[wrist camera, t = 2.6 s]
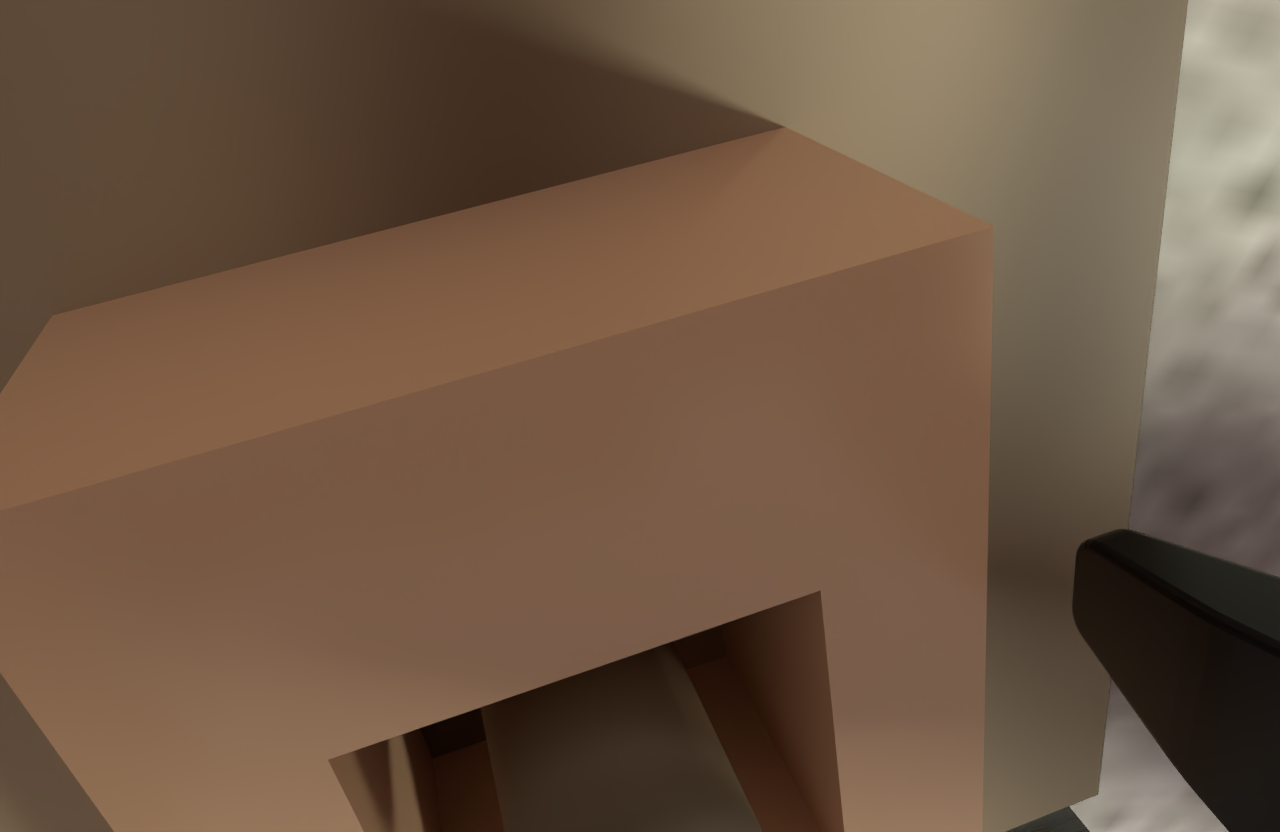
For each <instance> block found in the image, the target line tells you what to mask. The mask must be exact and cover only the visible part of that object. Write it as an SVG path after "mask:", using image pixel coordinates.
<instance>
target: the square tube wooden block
mask: <svg viewBox="0 0 1280 832" xmlns="http://www.w3.org/2000/svg"><path fill="white" fill-rule="evenodd" d="M993 247H994V226H992V225H990V224H988V223H986V222H984V221H982V220H980V219H977V218H975V217H973V216H971V215H969V214H967V213H965V212H963V211H961V210H959V209H956V208H954V207H952V206H950V205H948V204H946V203H944V202H942V201H940V200H938V199H936V198H933V197H931V196H929V195H927V194H925V193H923V192H921V191H919V190H917V189H915V188H912V187H910V186H908V185H906V184H904V183H902V182H900V181H898V180H896V179H894V178H892V177H889V176H887V175H885V174H883V173H881V172H879V171H877V170H875V169H873V168H871V167H868V166H866V165H864V164H862V163H860V162H858V161H856V160H854V159H852V158H850V157H847V156H845V155H843V154H841V153H839V152H837V151H835V150H833V149H831V148H829V147H827V146H824V145H822V144H820V143H818V142H816V141H814V140H812V139H810V138H808V137H806V136H803V135H801V134H799V133H797V132H795V131H793V130H791V129H789V128H787V127H783V128H779V129H775V130H771V131H767V132H764V133H760V134H756V135H752V136H748V137H744V138H740V139H736V140H732V141H729V142H725V143H721V144H717V145H713V146H709V147H705V148H701V149H697V150H694V151H690V152H686V153H682V154H678V155H674V156H670V157H666V158H662V159H659V160H655V161H651V162H647V163H643V164H639V165H635V166H631V167H627V168H624V169H620V170H616V171H612V172H608V173H604V174H600V175H596V176H593V177H589V178H585V179H581V180H577V181H573V182H569V183H565V184H561V185H558V186H554V187H550V188H546V189H542V190H538V191H534V192H530V193H526V194H523V195H519V196H515V197H511V198H507V199H503V200H499V201H495V202H491V203H488V204H484V205H480V206H476V207H472V208H468V209H464V210H460V211H457V212H453V213H449V214H445V215H441V216H437V217H433V218H429V219H425V220H422V221H418V222H414V223H410V224H406V225H402V226H398V227H394V228H390V229H387V230H383V231H379V232H375V233H371V234H367V235H363V236H359V237H355V238H352V239H348V240H344V241H340V242H336V243H332V244H328V245H324V246H320V247H317V248H313V249H309V250H305V251H301V252H297V253H293V254H289V255H286V256H282V257H278V258H274V259H270V260H266V261H262V262H258V263H254V264H251V265H247V266H243V267H239V268H235V269H231V270H227V271H223V272H219V273H216V274H212V275H208V276H204V277H200V278H196V279H192V280H188V281H184V282H181V283H177V284H173V285H169V286H165V287H161V288H157V289H153V290H149V291H146V292H142V293H138V294H134V295H130V296H126V297H122V298H118V299H115V300H111V301H107V302H103V303H99V304H95V305H91V306H87V307H83V308H80V309H76V310H72V311H68V312H64V313H60V314H56V315H52V317H51V318H50V320H49V321H48V323H47V324H46V326H45V327H44V329H43V330H42V332H41V333H40V335H39V336H38V338H37V339H36V341H35V342H34V344H33V345H32V347H31V348H30V350H29V351H28V353H27V354H26V356H25V357H24V359H23V360H22V362H21V363H20V365H19V366H18V368H17V369H16V371H15V372H14V374H13V375H12V377H11V378H10V380H9V381H8V383H7V384H6V386H5V387H4V389H3V390H2V392H1V393H0V673H1V675H2V676H3V677H4V679H5V680H6V682H7V683H8V684H9V686H10V687H11V689H12V690H13V691H14V693H15V694H16V696H17V697H18V698H19V700H20V701H21V703H22V704H23V705H24V707H25V708H26V710H27V711H28V712H29V714H30V715H31V717H32V718H33V719H34V721H35V722H36V723H37V725H38V726H39V728H40V729H41V730H42V732H43V733H44V735H45V736H46V737H47V739H48V740H49V742H50V743H51V744H52V746H53V747H54V749H55V750H56V751H57V753H58V754H59V756H60V757H61V758H62V760H63V761H64V763H65V764H66V765H67V767H68V768H69V770H70V771H71V772H72V774H73V775H74V776H75V778H76V779H77V781H78V782H79V783H80V785H81V786H82V788H83V789H84V790H85V792H86V793H87V795H88V796H89V797H90V799H91V800H92V802H93V803H94V804H95V806H96V807H97V809H98V810H99V811H100V813H101V814H102V816H103V817H104V818H105V820H106V821H107V823H108V824H109V825H110V827H111V828H112V830H113V831H114V832H504V827H503V822H502V817H501V812H500V806H499V801H498V796H497V791H496V786H495V781H494V776H493V770H492V765H491V760H490V755H489V750H488V745H487V740H485V741H482V742H479V743H476V744H473V745H470V746H467V747H465V748H462V749H459V750H456V751H453V752H450V753H447V754H445V755H442V756H439V757H436V758H432V756H431V753H430V751H429V749H428V746H427V744H426V742H425V739H424V737H423V734H422V732H421V730H420V728H422V727H425V726H428V725H431V724H434V723H436V722H439V721H442V720H445V719H448V718H451V717H454V716H457V715H460V714H463V713H466V712H468V711H471V710H474V709H477V708H480V707H483V706H486V705H489V704H492V703H495V702H498V701H500V700H503V699H506V698H509V697H512V696H515V695H518V694H521V693H524V692H527V691H530V690H532V689H535V688H538V687H541V686H544V685H547V684H550V683H553V682H556V681H559V680H562V679H564V678H567V677H570V676H573V675H576V674H579V673H582V672H585V671H588V670H591V669H594V668H596V667H599V666H602V665H605V664H608V663H611V662H614V661H617V660H620V659H623V658H626V657H628V656H631V655H634V654H637V653H640V652H643V651H646V650H649V649H652V648H655V647H658V646H660V645H663V644H666V643H669V642H672V641H675V640H678V639H681V638H684V637H687V636H690V635H692V634H695V633H698V632H701V631H704V630H707V629H710V628H713V627H716V626H719V625H721V628H722V633H723V639H724V645H725V651H726V656H725V657H722V658H719V659H716V660H713V661H710V662H708V663H705V664H702V665H699V666H696V667H693V668H690V669H688V670H686V671H687V673H688V675H689V678H690V680H691V682H692V684H693V686H694V688H695V690H696V692H697V694H698V697H699V699H700V701H701V703H702V705H703V707H704V709H705V711H706V713H707V716H708V718H709V720H710V722H711V724H712V726H713V728H714V730H715V732H716V735H717V737H718V739H719V741H720V743H721V745H722V747H723V749H724V751H725V754H726V756H727V758H728V760H729V762H730V764H731V766H732V768H733V770H734V773H735V775H736V777H737V779H738V781H739V783H740V785H741V787H742V789H743V792H744V794H745V796H746V798H747V800H748V802H749V804H750V806H751V808H752V811H753V813H754V815H755V817H756V819H757V821H758V823H759V825H760V827H761V830H762V832H982V827H983V774H984V722H985V669H986V616H987V563H988V510H989V458H990V405H991V352H992V299H993Z"/></svg>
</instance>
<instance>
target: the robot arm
mask: <svg viewBox="0 0 1280 832" xmlns="http://www.w3.org/2000/svg"><path fill="white" fill-rule="evenodd" d="M1072 613H1073V618H1074V621H1075V624H1076V627H1077V629H1078V631H1079V633H1080V634H1081V636H1082V637H1083V639H1084V640H1085V642H1086V643H1087V645H1088V646H1089V647H1090V649H1091V650H1092V652H1093V653H1094V654H1095V656H1096V657H1097V659H1098V660H1099V661H1100V663H1101V664H1102V666H1103V667H1104V668H1105V670H1106V671H1107V673H1108V674H1109V675H1110V677H1111V678H1112V680H1113V681H1114V682H1115V684H1116V685H1117V687H1118V688H1119V690H1120V691H1121V692H1122V694H1123V695H1124V697H1125V698H1126V699H1127V701H1128V702H1129V704H1130V705H1131V706H1132V708H1133V709H1134V711H1135V712H1136V713H1137V715H1138V716H1139V718H1140V719H1141V720H1142V722H1143V723H1144V725H1145V726H1146V727H1147V729H1148V730H1149V732H1150V733H1151V734H1152V736H1153V737H1154V739H1155V740H1156V742H1157V743H1158V744H1159V746H1160V747H1161V749H1162V750H1163V751H1164V753H1165V754H1166V755H1167V757H1168V758H1169V759H1170V761H1171V762H1172V763H1173V765H1174V766H1175V767H1176V769H1177V770H1178V771H1179V773H1180V774H1181V775H1182V777H1183V778H1184V779H1185V780H1186V782H1187V783H1188V784H1189V785H1190V786H1191V788H1192V789H1193V790H1194V791H1195V792H1196V794H1197V795H1198V796H1199V797H1200V798H1201V800H1202V801H1203V802H1204V803H1205V804H1206V805H1207V807H1208V808H1209V809H1210V810H1211V811H1212V812H1213V814H1214V815H1215V816H1216V817H1217V818H1218V819H1219V820H1220V822H1221V823H1222V824H1223V825H1224V826H1225V827H1226V828H1227V830H1228V831H1229V832H1280V577H1277V576H1274V575H1270V574H1267V573H1264V572H1261V571H1258V570H1255V569H1252V568H1249V567H1245V566H1242V565H1239V564H1236V563H1233V562H1230V561H1227V560H1224V559H1220V558H1217V557H1214V556H1211V555H1208V554H1205V553H1202V552H1199V551H1196V550H1192V549H1189V548H1186V547H1183V546H1180V545H1177V544H1174V543H1171V542H1167V541H1164V540H1161V539H1158V538H1155V537H1152V536H1149V535H1146V534H1142V533H1139V532H1136V531H1133V530H1129V529H1116V530H1113V531H1110V532H1107V533H1104V534H1101V535H1098V536H1096V537H1093V538H1090V539H1087V540H1085V541H1083V542H1082V543H1081V544H1080V546H1079V548H1078V549H1077V552H1076V560H1075V572H1074V585H1073V598H1072Z"/></svg>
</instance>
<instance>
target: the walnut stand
mask: <svg viewBox="0 0 1280 832" xmlns="http://www.w3.org/2000/svg"><path fill="white" fill-rule="evenodd" d="M1187 4H1188V0H0V393H1V392H2V390H3V389H4V387H5V386H6V384H7V383H8V381H9V380H10V378H11V377H12V375H13V374H14V372H15V371H16V369H17V368H18V366H19V365H20V363H21V362H22V360H23V359H24V357H25V356H26V354H27V353H28V351H29V350H30V348H31V347H32V345H33V344H34V342H35V341H36V339H37V338H38V336H39V335H40V333H41V332H42V330H43V329H44V327H45V326H46V324H47V323H48V321H49V320H50V318H51V317H52V315H56V314H60V313H64V312H68V311H72V310H76V309H80V308H83V307H87V306H91V305H95V304H99V303H103V302H107V301H111V300H115V299H118V298H122V297H126V296H130V295H134V294H138V293H142V292H146V291H149V290H153V289H157V288H161V287H165V286H169V285H173V284H177V283H181V282H184V281H188V280H192V279H196V278H200V277H204V276H208V275H212V274H216V273H219V272H223V271H227V270H231V269H235V268H239V267H243V266H247V265H251V264H254V263H258V262H262V261H266V260H270V259H274V258H278V257H282V256H286V255H289V254H293V253H297V252H301V251H305V250H309V249H313V248H317V247H320V246H324V245H328V244H332V243H336V242H340V241H344V240H348V239H352V238H355V237H359V236H363V235H367V234H371V233H375V232H379V231H383V230H387V229H390V228H394V227H398V226H402V225H406V224H410V223H414V222H418V221H422V220H425V219H429V218H433V217H437V216H441V215H445V214H449V213H453V212H457V211H460V210H464V209H468V208H472V207H476V206H480V205H484V204H488V203H491V202H495V201H499V200H503V199H507V198H511V197H515V196H519V195H523V194H526V193H530V192H534V191H538V190H542V189H546V188H550V187H554V186H558V185H561V184H565V183H569V182H573V181H577V180H581V179H585V178H589V177H593V176H596V175H600V174H604V173H608V172H612V171H616V170H620V169H624V168H627V167H631V166H635V165H639V164H643V163H647V162H651V161H655V160H659V159H662V158H666V157H670V156H674V155H678V154H682V153H686V152H690V151H694V150H697V149H701V148H705V147H709V146H713V145H717V144H721V143H725V142H729V141H732V140H736V139H740V138H744V137H748V136H752V135H756V134H760V133H764V132H767V131H771V130H775V129H779V128H783V127H787V128H789V129H791V130H793V131H795V132H797V133H799V134H801V135H803V136H806V137H808V138H810V139H812V140H814V141H816V142H818V143H820V144H822V145H824V146H827V147H829V148H831V149H833V150H835V151H837V152H839V153H841V154H843V155H845V156H847V157H850V158H852V159H854V160H856V161H858V162H860V163H862V164H864V165H866V166H868V167H871V168H873V169H875V170H877V171H879V172H881V173H883V174H885V175H887V176H889V177H892V178H894V179H896V180H898V181H900V182H902V183H904V184H906V185H908V186H910V187H912V188H915V189H917V190H919V191H921V192H923V193H925V194H927V195H929V196H931V197H933V198H936V199H938V200H940V201H942V202H944V203H946V204H948V205H950V206H952V207H954V208H956V209H959V210H961V211H963V212H965V213H967V214H969V215H971V216H973V217H975V218H977V219H980V220H982V221H984V222H986V223H988V224H990V225H992V226H994V247H993V299H992V352H991V405H990V458H989V510H988V563H987V616H986V669H985V722H984V774H983V827H982V832H1006V831H1008V830H1011V829H1013V828H1016V827H1018V826H1021V825H1023V824H1026V823H1028V822H1031V821H1033V820H1036V819H1038V818H1041V817H1043V816H1045V815H1048V814H1050V813H1053V812H1055V811H1058V810H1060V809H1063V808H1065V807H1068V806H1070V805H1073V804H1075V803H1078V802H1080V801H1083V800H1085V799H1088V798H1090V797H1093V796H1095V795H1098V790H1099V781H1100V772H1101V763H1102V755H1103V746H1104V737H1105V728H1106V719H1107V710H1108V702H1109V693H1110V684H1111V677H1110V675H1109V674H1108V673H1107V671H1106V670H1105V668H1104V667H1103V666H1102V664H1101V663H1100V661H1099V660H1098V659H1097V657H1096V656H1095V654H1094V653H1093V652H1092V650H1091V649H1090V647H1089V646H1088V645H1087V643H1086V642H1085V640H1084V639H1083V637H1082V636H1081V634H1080V633H1079V631H1078V629H1077V627H1076V624H1075V621H1074V618H1073V613H1072V598H1073V585H1074V572H1075V560H1076V552H1077V549H1078V548H1079V546H1080V544H1081V543H1082V542H1083V541H1085V540H1087V539H1090V538H1093V537H1096V536H1098V535H1101V534H1104V533H1107V532H1110V531H1113V530H1116V529H1128V525H1129V516H1130V507H1131V499H1132V490H1133V481H1134V472H1135V463H1136V455H1137V446H1138V437H1139V428H1140V419H1141V410H1142V402H1143V393H1144V384H1145V375H1146V366H1147V357H1148V349H1149V340H1150V331H1151V322H1152V313H1153V304H1154V296H1155V287H1156V278H1157V269H1158V260H1159V252H1160V243H1161V234H1162V225H1163V216H1164V207H1165V199H1166V190H1167V181H1168V172H1169V163H1170V154H1171V146H1172V137H1173V128H1174V119H1175V110H1176V101H1177V93H1178V84H1179V75H1180V66H1181V57H1182V49H1183V40H1184V31H1185V22H1186V13H1187ZM725 656H726V651H725V645H724V639H723V633H722V628H721V625H719V626H716V627H713V628H710V629H707V630H704V631H701V632H698V633H695V634H692V635H690V636H687V637H684V638H681V639H678V640H675V641H672V642H669V643H666V644H663V645H660V646H658V647H655V648H652V649H649V650H646V651H643V652H640V653H637V654H634V655H631V656H628V657H626V658H623V659H620V660H617V661H614V662H611V663H608V664H605V665H602V666H599V667H596V668H594V669H591V670H588V671H585V672H582V673H579V674H576V675H573V676H570V677H567V678H564V679H562V680H559V681H556V682H553V683H550V684H547V685H544V686H541V687H538V688H535V689H532V690H530V691H527V692H524V693H521V694H518V695H515V696H512V697H509V698H506V699H503V700H500V701H498V702H495V703H492V704H489V705H486V706H483V707H480V708H477V709H474V710H471V711H468V712H466V713H463V714H460V715H457V716H454V717H451V718H448V719H445V720H442V721H439V722H436V723H434V724H431V725H428V726H425V727H422V728H420V730H421V732H422V734H423V737H424V739H425V742H426V744H427V746H428V749H429V751H430V753H431V756H432V758H436V757H439V756H442V755H445V754H447V753H450V752H453V751H456V750H459V749H462V748H465V747H467V746H470V745H473V744H476V743H479V742H482V741H485V740H487V745H488V750H489V755H490V760H491V765H492V770H493V776H494V781H495V786H496V791H497V796H498V801H499V806H500V812H501V817H502V822H503V827H504V832H762V830H761V827H760V825H759V823H758V821H757V819H756V817H755V815H754V813H753V811H752V808H751V806H750V804H749V802H748V800H747V798H746V796H745V794H744V792H743V789H742V787H741V785H740V783H739V781H738V779H737V777H736V775H735V773H734V770H733V768H732V766H731V764H730V762H729V760H728V758H727V756H726V754H725V751H724V749H723V747H722V745H721V743H720V741H719V739H718V737H717V735H716V732H715V730H714V728H713V726H712V724H711V722H710V720H709V718H708V716H707V713H706V711H705V709H704V707H703V705H702V703H701V701H700V699H699V697H698V694H697V692H696V690H695V688H694V686H693V684H692V682H691V680H690V678H689V675H688V673H687V671H686V670H688V669H690V668H693V667H696V666H699V665H702V664H705V663H708V662H710V661H713V660H716V659H719V658H722V657H725ZM0 832H114V831H113V830H112V828H111V827H110V825H109V824H108V823H107V821H106V820H105V818H104V817H103V816H102V814H101V813H100V811H99V810H98V809H97V807H96V806H95V804H94V803H93V802H92V800H91V799H90V797H89V796H88V795H87V793H86V792H85V790H84V789H83V788H82V786H81V785H80V783H79V782H78V781H77V779H76V778H75V776H74V775H73V774H72V772H71V771H70V770H69V768H68V767H67V765H66V764H65V763H64V761H63V760H62V758H61V757H60V756H59V754H58V753H57V751H56V750H55V749H54V747H53V746H52V744H51V743H50V742H49V740H48V739H47V737H46V736H45V735H44V733H43V732H42V730H41V729H40V728H39V726H38V725H37V723H36V722H35V721H34V719H33V718H32V717H31V715H30V714H29V712H28V711H27V710H26V708H25V707H24V705H23V704H22V703H21V701H20V700H19V698H18V697H17V696H16V694H15V693H14V691H13V690H12V689H11V687H10V686H9V684H8V683H7V682H6V680H5V679H4V677H3V676H2V675H1V673H0Z"/></svg>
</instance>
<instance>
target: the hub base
mask: <svg viewBox="0 0 1280 832" xmlns="http://www.w3.org/2000/svg"><path fill="white" fill-rule="evenodd" d="M1006 832H1090V831H1089V830H1088V829H1087V828H1086V826H1085V825H1084V824H1083V823H1082V822H1081V820H1080V819H1079V818H1078V817H1077V816H1076V814H1075V813H1074V812H1073V811H1072V810H1071V808H1070V807H1069V806H1068V807H1065V808H1063V809H1060V810H1058V811H1055V812H1053V813H1050V814H1048V815H1045V816H1043V817H1041V818H1038V819H1036V820H1033V821H1031V822H1028V823H1026V824H1023V825H1021V826H1018V827H1016V828H1013V829H1011V830H1008V831H1006Z"/></svg>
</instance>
